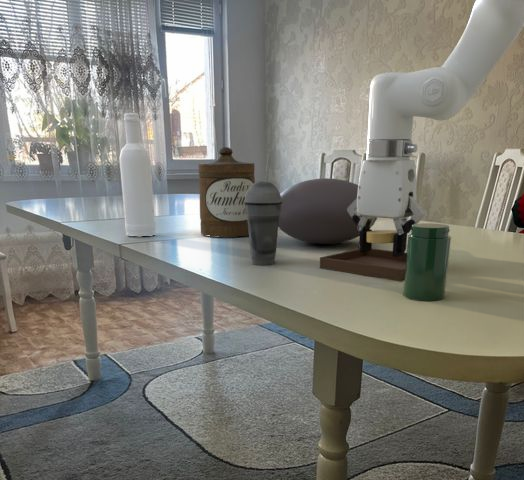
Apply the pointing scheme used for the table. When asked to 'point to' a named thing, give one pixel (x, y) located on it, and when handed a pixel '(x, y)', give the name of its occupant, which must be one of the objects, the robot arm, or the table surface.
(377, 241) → the lid
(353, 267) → the tray
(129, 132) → the bottle
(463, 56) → the robot arm
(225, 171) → the wooden container
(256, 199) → the beverage cup
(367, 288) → the table surface
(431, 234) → the jar
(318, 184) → the smooth stone
